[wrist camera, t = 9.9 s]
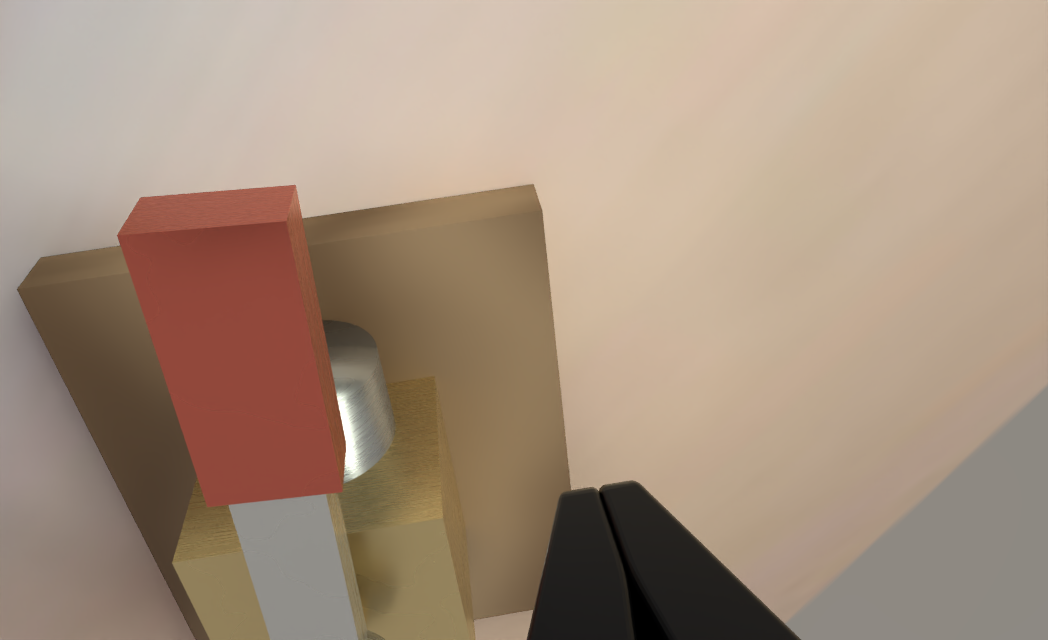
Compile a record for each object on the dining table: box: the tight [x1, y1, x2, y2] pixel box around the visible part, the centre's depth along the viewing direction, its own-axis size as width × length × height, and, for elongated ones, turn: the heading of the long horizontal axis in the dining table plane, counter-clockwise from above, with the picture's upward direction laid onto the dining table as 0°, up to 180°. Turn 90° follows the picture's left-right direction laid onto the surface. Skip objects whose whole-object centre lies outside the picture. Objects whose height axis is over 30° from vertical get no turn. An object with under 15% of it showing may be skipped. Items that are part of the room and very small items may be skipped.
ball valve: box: [172, 320, 475, 640], centre depth 21 cm, size 6×10×6 cm, turn 6°
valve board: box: [17, 184, 571, 640], centre depth 24 cm, size 12×14×2 cm
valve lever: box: [117, 185, 385, 640], centre depth 15 cm, size 12×3×1 cm, turn 2°
